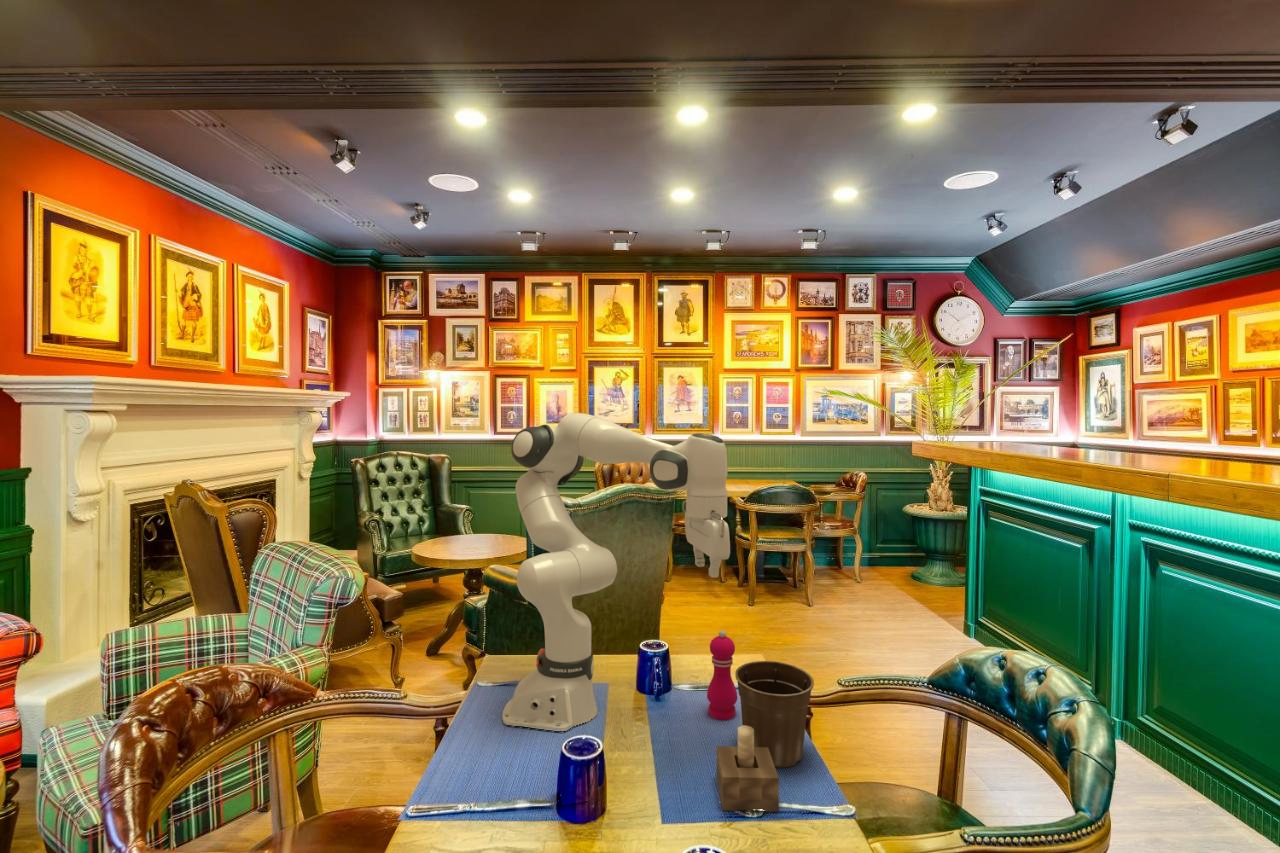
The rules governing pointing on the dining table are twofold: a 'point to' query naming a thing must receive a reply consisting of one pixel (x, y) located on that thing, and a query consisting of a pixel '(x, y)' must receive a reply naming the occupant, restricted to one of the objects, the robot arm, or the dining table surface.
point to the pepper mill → (722, 679)
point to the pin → (745, 747)
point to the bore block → (747, 781)
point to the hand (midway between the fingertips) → (706, 571)
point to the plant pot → (775, 707)
